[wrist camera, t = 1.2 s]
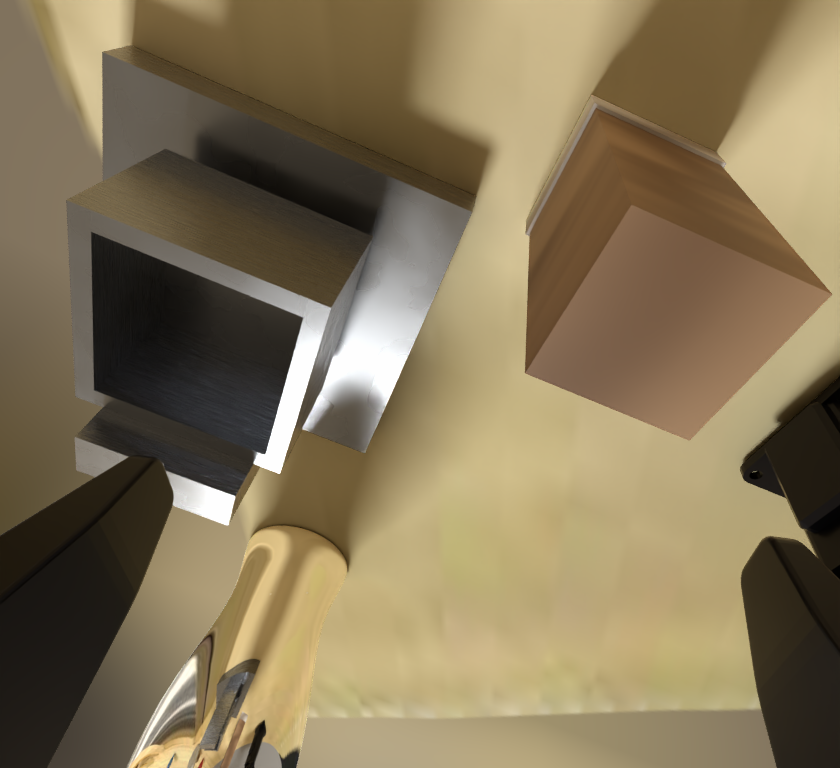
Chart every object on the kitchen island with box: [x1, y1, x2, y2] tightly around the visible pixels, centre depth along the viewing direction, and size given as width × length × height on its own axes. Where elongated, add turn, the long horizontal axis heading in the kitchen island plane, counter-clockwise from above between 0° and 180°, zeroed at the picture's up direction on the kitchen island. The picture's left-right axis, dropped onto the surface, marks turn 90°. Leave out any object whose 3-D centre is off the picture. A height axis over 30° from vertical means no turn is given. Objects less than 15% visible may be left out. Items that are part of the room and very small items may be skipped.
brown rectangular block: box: [525, 94, 832, 440], centre depth 15 cm, size 4×4×9 cm
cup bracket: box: [66, 46, 476, 525], centre depth 19 cm, size 12×12×8 cm
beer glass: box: [126, 525, 347, 768], centre depth 28 cm, size 7×7×15 cm
